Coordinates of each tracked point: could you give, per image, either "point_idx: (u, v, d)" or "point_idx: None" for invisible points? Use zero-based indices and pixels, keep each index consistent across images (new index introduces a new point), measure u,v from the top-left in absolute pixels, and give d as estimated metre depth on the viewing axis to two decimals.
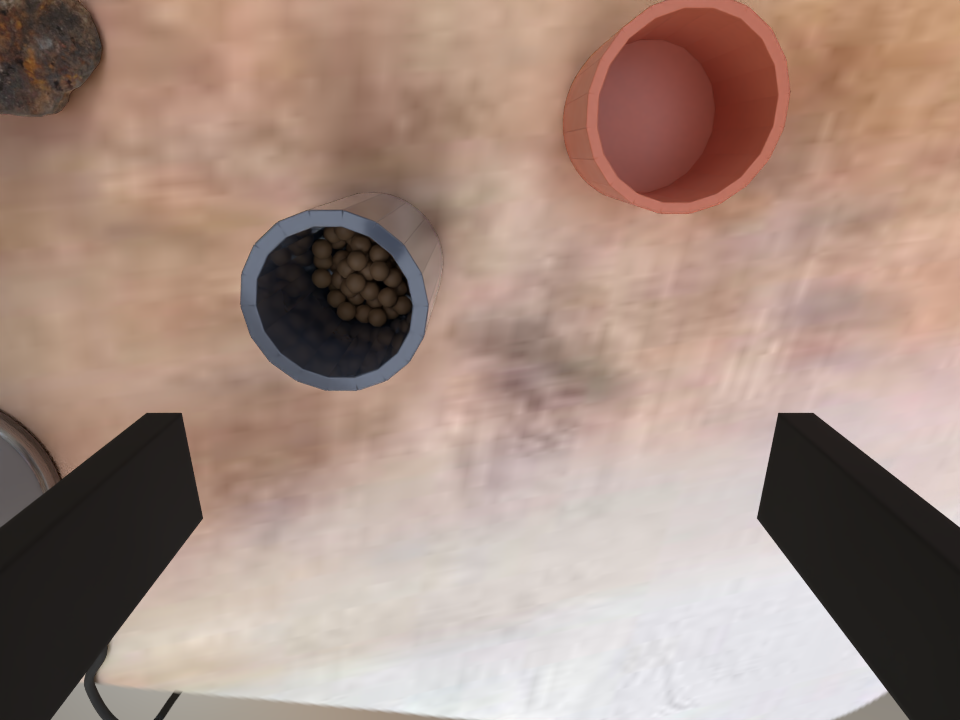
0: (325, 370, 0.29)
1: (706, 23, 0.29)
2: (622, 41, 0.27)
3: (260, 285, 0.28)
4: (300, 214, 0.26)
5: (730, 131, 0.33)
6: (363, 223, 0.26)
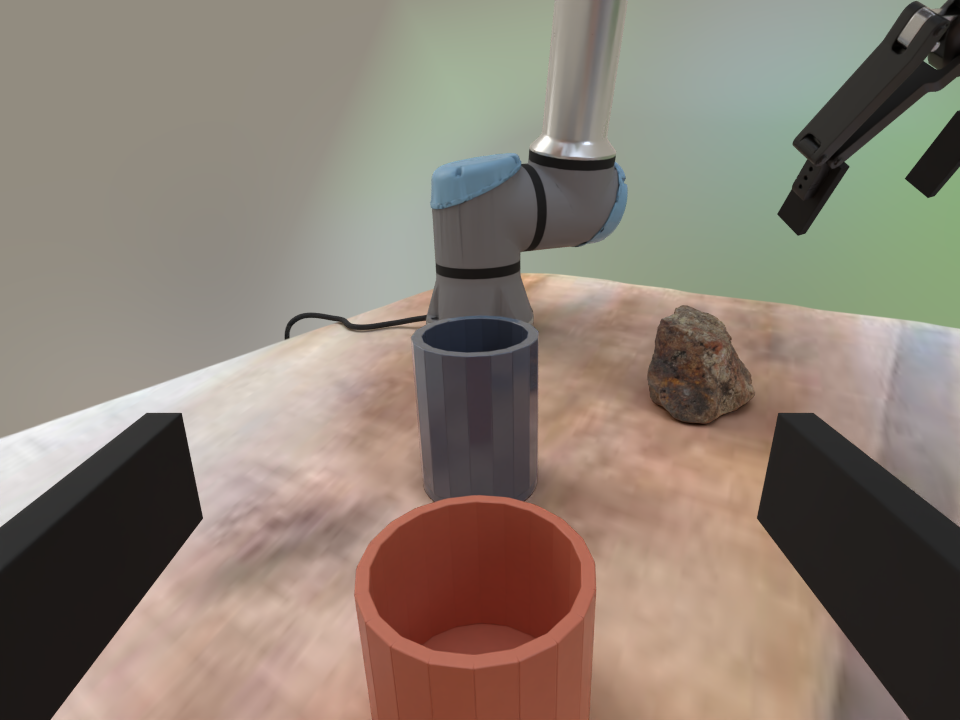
0: (438, 332, 0.43)
1: None
2: (570, 535, 0.25)
3: (507, 326, 0.43)
4: (537, 336, 0.40)
5: None
6: (515, 348, 0.37)
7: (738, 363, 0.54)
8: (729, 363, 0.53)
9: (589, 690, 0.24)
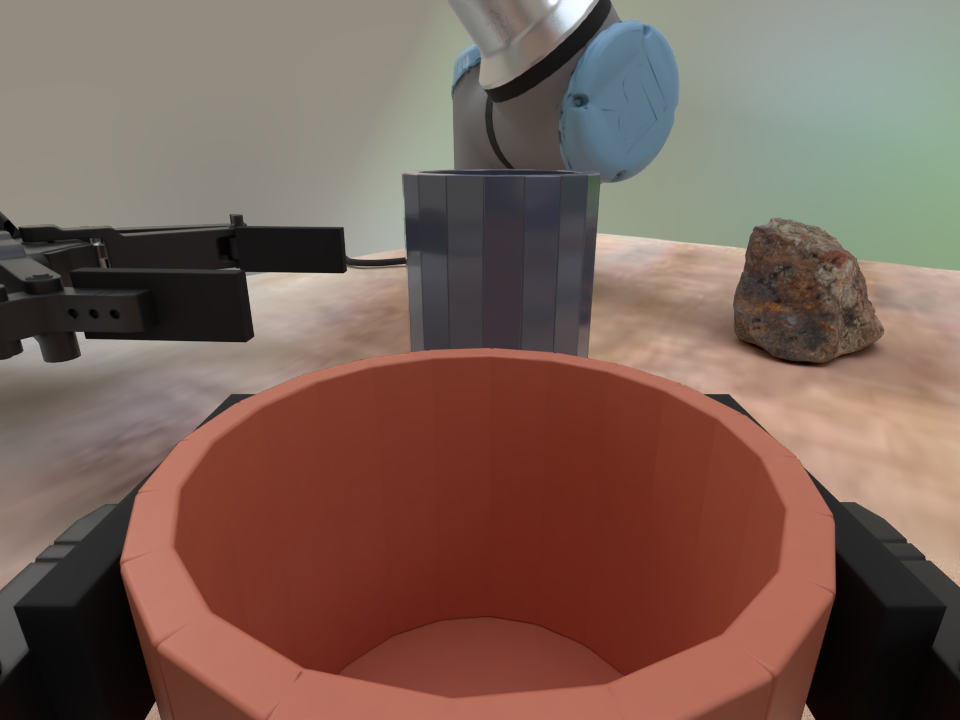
0: None
1: None
2: (712, 409, 0.11)
3: None
4: (599, 172, 0.25)
5: None
6: (566, 174, 0.23)
7: (865, 286, 0.39)
8: (855, 281, 0.38)
9: None
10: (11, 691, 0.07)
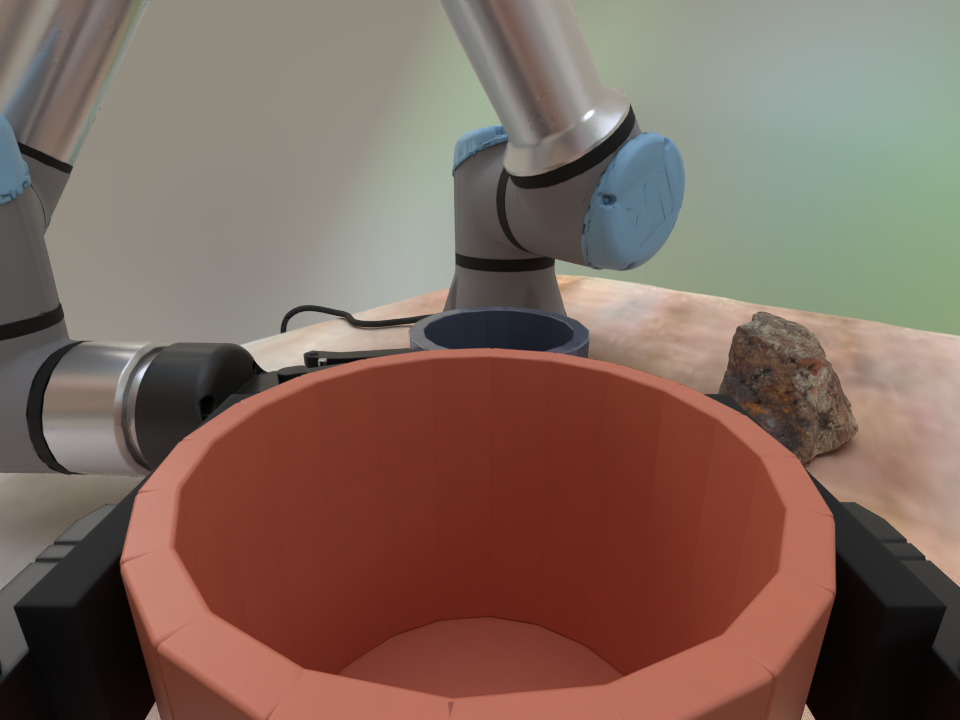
0: (449, 326, 0.32)
1: None
2: (712, 409, 0.11)
3: (544, 322, 0.32)
4: (587, 336, 0.28)
5: None
6: (556, 352, 0.26)
7: (840, 388, 0.41)
8: (830, 387, 0.40)
9: None
10: (11, 691, 0.07)
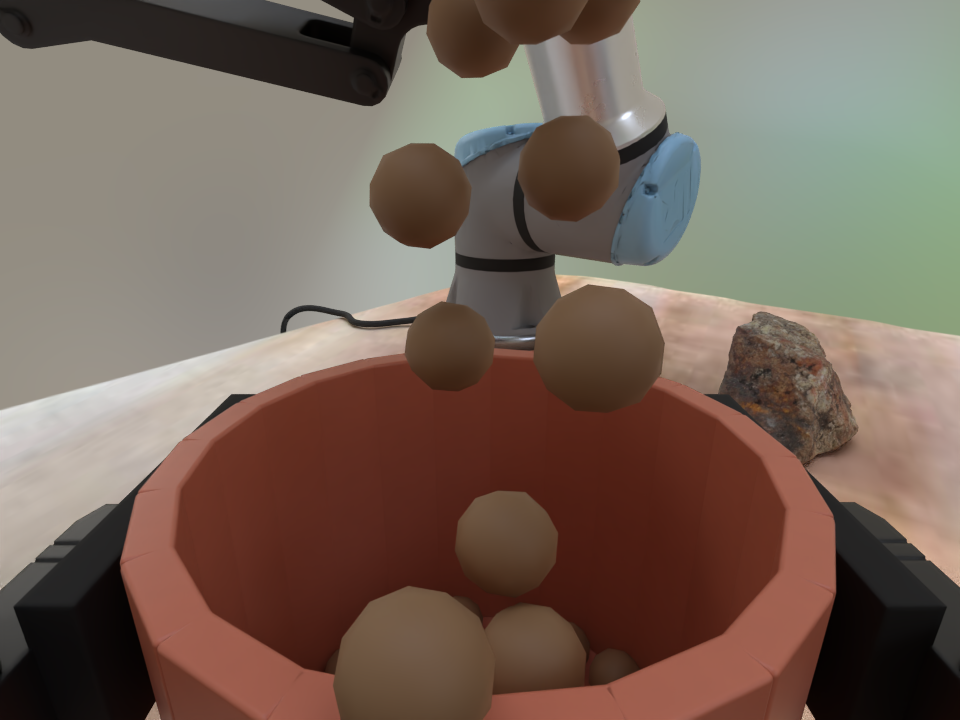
0: None
1: None
2: (712, 409, 0.11)
3: None
4: None
5: None
6: None
7: (840, 388, 0.41)
8: (830, 387, 0.40)
9: None
10: (11, 691, 0.07)
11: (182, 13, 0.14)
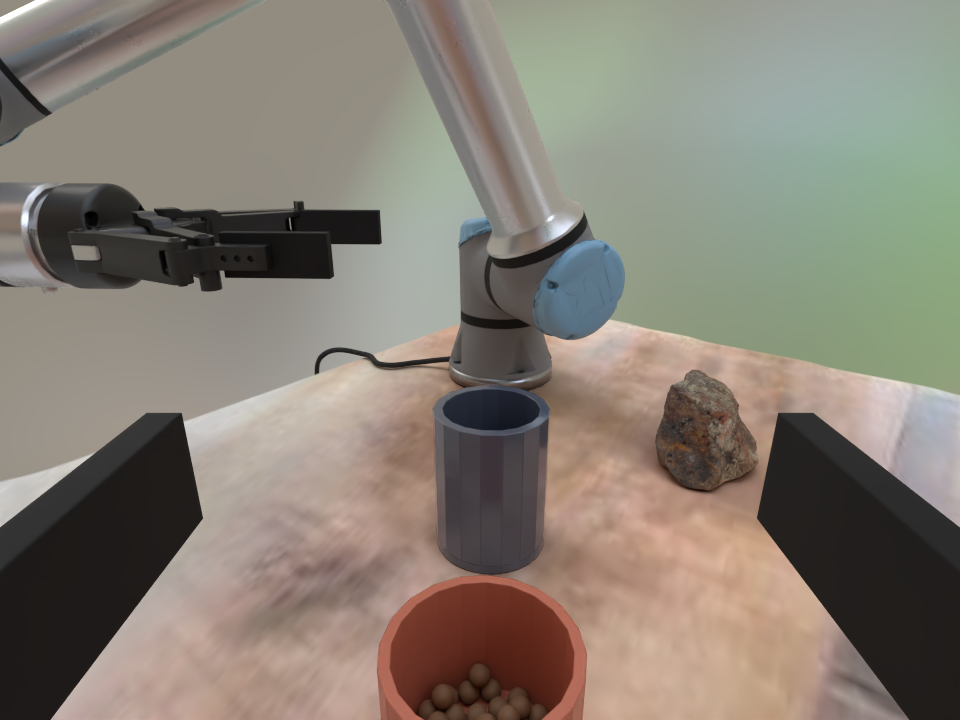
0: (458, 401, 0.47)
1: None
2: (567, 623, 0.29)
3: (522, 399, 0.47)
4: (548, 414, 0.43)
5: None
6: (526, 428, 0.41)
7: (743, 433, 0.57)
8: (734, 433, 0.56)
9: None
10: None
11: (137, 233, 0.34)
